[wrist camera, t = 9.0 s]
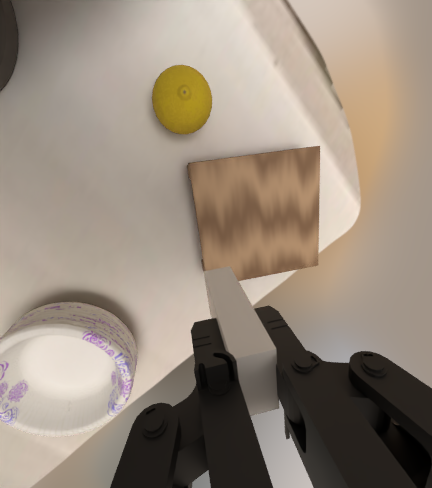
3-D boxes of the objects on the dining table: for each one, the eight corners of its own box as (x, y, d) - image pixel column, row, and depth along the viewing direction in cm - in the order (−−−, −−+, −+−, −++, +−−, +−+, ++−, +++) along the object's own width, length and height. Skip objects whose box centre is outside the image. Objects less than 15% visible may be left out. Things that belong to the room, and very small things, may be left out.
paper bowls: (-11, 323, 31) (-67, 374, 24) (100, 268, 32) (79, 302, 24) (66, 399, 37) (40, 459, 29) (160, 351, 37) (157, 400, 30)
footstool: (189, 163, 25) (320, 146, 27) (186, 162, 29) (299, 147, 31) (208, 286, 30) (318, 265, 32) (203, 271, 34) (300, 252, 36)
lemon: (149, 83, 26) (141, 53, 19) (201, 77, 27) (214, 47, 19) (160, 140, 28) (157, 134, 21) (209, 133, 29) (223, 125, 21)
